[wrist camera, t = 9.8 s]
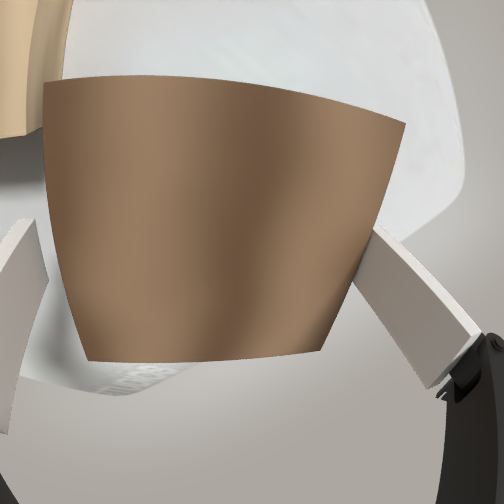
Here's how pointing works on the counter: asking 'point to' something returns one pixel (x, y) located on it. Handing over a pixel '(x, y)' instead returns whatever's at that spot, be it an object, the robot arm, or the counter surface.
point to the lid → (208, 213)
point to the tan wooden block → (29, 59)
